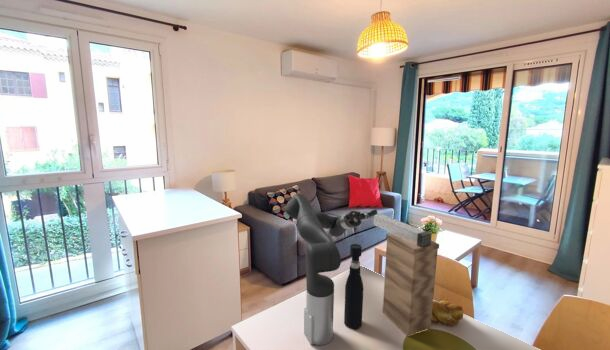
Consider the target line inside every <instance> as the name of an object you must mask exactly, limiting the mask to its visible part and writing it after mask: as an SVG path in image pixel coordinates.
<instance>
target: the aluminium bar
mask: <svg viewBox="0 0 610 350" xmlns="http://www.w3.org/2000/svg"><path fill="white" fill-rule="evenodd" d="M373 226H375V227H377V228H380V229H382V230H384V231H386V232H388V233H389V234H391V233H392V234H394V235H396V236H398V237H401V238H403V239H405V240H407V241H409V242H411V243H413V244H416V245H417V246H420V247H425V246H429V245H431V241H432V235H433V234H432V232H430V231H427V230H426V231H425V230H423V229H420V228H418V227H415V226H413V225H411V224H407V223H405V222H402V221H400V220H397V219H395V218H394V217H393V218H392V217H390V216H388V215H385V214H383V213H380V214H376V215H374V217H373Z"/></svg>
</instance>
